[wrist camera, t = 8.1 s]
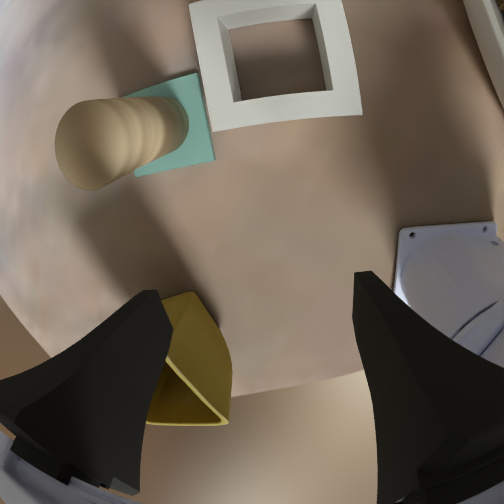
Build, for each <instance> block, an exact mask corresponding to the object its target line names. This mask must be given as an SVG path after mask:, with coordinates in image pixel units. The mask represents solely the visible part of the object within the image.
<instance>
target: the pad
mask: <svg viewBox="0 0 504 504" xmlns="http://www.w3.org/2000/svg"><path fill="white" fill-rule="evenodd" d="M125 97H170V98H173V99H175V100H177V101H178V102H179V103H180V104H181V105H182V106H183V107H184V108H185V110H186V112H187V115H188V118H189V131H188V134H187V137H186V139H185V141H184V142H183V144H182V145H181V146H180V147H179V148H178V149H176V150H175V151H173V152H171V153H169V154H166V155H164V156H162V157H160V158H158V159H156V160H154V161H152V162H150V163H148V164H146V165H144V166H142V167H140V168H138V169H136V170H134V173H135V177H140V176H144V175H148V174H152V173H157V172H161V171H166V170H170V169H175V168H180V167H185V166H190V165H195V164H200V163H205V162H211V161H215V160H216V159H215V154H214V149H213V144H212V139H211V134H210V129H209V124H208V119H207V114H206V109H205V104H204V99H203V94H202V89H201V83H200V78H199V73H194V74H190V75H187V76H183V77H180V78H176V79H173V80H169V81H166V82H163V83H160V84H157V85H154V86H151V87H148V88H145V89H142V90H140V91H137V92H134V93H132V94H129V95H126V96H124V97H121V98H125Z"/></svg>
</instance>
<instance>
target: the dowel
mask: <svg viewBox="0 0 504 504" xmlns="http://www.w3.org/2000/svg"><path fill="white" fill-rule="evenodd" d="M188 131H189V118H188V115H187V112H186V110H185V108H184V107H183V106H182V105H181V104H180V103H179V102H178V101H177V100H175V99H173V98H170V97H125V98H110V99H98V100H88V101H82V102H79V103H77V104H75V105H73V106H72V107H71V108H70V109H69V110H68V111H67V112H66V113H65V114H64V115H63V117H62V119H61V120H60V123H59V125H58V128H57V131H56V136H55V153H56V158H57V162H58V165H59V167H60V169H61V171H62V173H63V174H64V176H65V177H66V178H67V180H68V181H69V182H71V183H72V184H73V185H74V186H76V187H78V188H80V189H83V190H97V189H100V188H102V187H104V186H106V185H108V184H110V183H111V182H113V181H115V180H117V179H119V178H121V177H122V176H124V175H126V174H128V173H130V172H132V171H134V170H136V169H138V168H140V167H142V166H144V165H146V164H148V163H150V162H152V161H154V160H156V159H158V158H160V157H162V156H164V155H166V154H169V153H171V152H173V151H175V150H176V149H178V148H179V147H180V146H181V145H182V144H183V142H184V141H185V139H186V137H187V134H188Z"/></svg>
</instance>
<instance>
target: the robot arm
mask: <svg viewBox="0 0 504 504" xmlns="http://www.w3.org/2000/svg"><path fill="white" fill-rule="evenodd" d="M484 227H485V228H484ZM483 228H484V230H483ZM412 232H414V234H413V236H409V235H410V233H412ZM496 232H497V224H496V223H495V222H493V221H488V222H474V223H459V224H446V225H432V226H419V227H406V228H403V229H401V230H400V232H399V238H398V251H397V263H396V272H395V281H394V289H393V291H392V290H391V289H390V288H389V287H388V286H387V285H386V284H385V283H384V282H383V281H382V280H381V279H380V278H379V277H378V276H376V275H375V274H374V273H373V272H372V271H364V272H355V273H354V295H353V313H352V319H353V325H354V331H355V337H356V342H357V346H358V349H359V353H360V356H361V360H362V364H363V367H364V371H365V374H366V378H367V382H368V386H369V390H370V393H371V399H372V403H373V412H374V420H375V430H376V442H377V463H378V489H377V492H378V493H377V504H504V242H503V241H502V240H501V239H500V238H499V237H498V236H497V235H496ZM172 334H173V326H172V324H171V322H170V320H169V317H168V315H167V313H166V311H165V308H164V306H163V304H162V301H161V299H160V297H159V294H158V292H157V290H143V291H142V292H140V293H139V294H137V295H136V296H134V297H133V298H132V299H131V300H129V301H128V302H127V303H125V304H124V305H123V306H122V307H121V308H119V309H118V310H117V311H116V312H115V313H113V314H112V315H111V316H110V317H109V318H107V319H106V320H105V321H104V322H102V323H101V324H100V325H99V326H97V327H96V328H95V329H94V330H92V331H91V332H90V333H88V334H87V335H86V336H85V337H83V338H82V339H81V340H79V341H78V342H76V343H75V344H73V345H72V346H70V347H69V348H67V349H66V350H64V351H63V352H61V353H60V354H58V355H56V356H54V357H52V358H51V359H49V360H47V361H45V362H44V363H42V364H40V365H38V366H36V367H34V368H32V369H29V370H27V371H24V372H22V373H20V374H17V375H14V376H11V377H8V378H5V379H2V380H0V423H1V424H3V425H4V426H5V427H6V428H7V429H8V430H9V431H11V432H12V433H13V434H14V435H15V436H16V438H15V440H14V441H13V440H12V439H11V438H9V437H8V436H7V435H5V434H4V433H2V432H1V431H0V496H1V498H2V499H3V500H4V502H5V503H6V504H143V503H139V502H136V501H133V500H130V499H127V498H124V497H121V496H118V495H115V494H113V493H110V492H108V491H105V490H102V489H100V488H99V486H101V487H104V488H106V489H109V488H111V489H114V490H117V491H120V492H123V493H126V494H129V495H132V496H133V495H136V494H138V493H139V492H140V461H141V450H142V442H143V435H144V429H145V424H146V419H147V414H148V410H149V406H150V402H151V399H152V396H153V393H154V390H155V387H156V385H157V382H158V379H159V377H160V374H161V371H162V369H163V366H164V363H165V360H166V358H167V355H168V352H169V348H170V344H171V339H172Z"/></svg>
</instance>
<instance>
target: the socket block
mask: <svg viewBox="0 0 504 504" xmlns="http://www.w3.org/2000/svg"><path fill="white" fill-rule="evenodd" d="M189 10H190V16H191V21H192V27H193V32H194V38H195V43H196V49H197V54H198V59H199V65H200V70H201V75H202V80H203V86H204V91H205V96H206V101H207V106H208V111H209V116H210V121H211V127H212V132H216V131H221V130H226V129H232V128H238V127H244V126H250V125H256V124H263V123H271V122H278V121H287V120H296V119H306V118H317V117H330V116H348V115H363V113H362V105H361V97H360V90H359V83H358V77H357V71H356V65H355V59H354V54H353V49H352V44H351V39H350V34H349V30H348V25H347V21H346V17H345V13H344V9H343V5H342V1H341V0H201V1H198V2H194V3H191V4H189ZM309 18H312V20H313V25H314V29H315V34H316V38H317V43H318V48H319V53H320V59H321V64H322V69H323V75H324V81H325V87H326V91H317V92H305V93H295V94H286V95H278V96H270V97H263V98H257V99H250V100H244V101H242V97H241V92H240V87H239V81H238V76H237V71H236V65H235V60H234V55H233V50H232V45H231V40H230V34H229V29H234V28H239V27H245V26H250V25H256V24H262V23H269V22H277V21H286V20H296V19H309Z"/></svg>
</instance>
